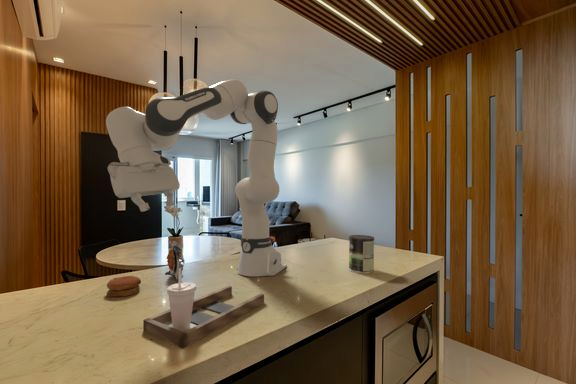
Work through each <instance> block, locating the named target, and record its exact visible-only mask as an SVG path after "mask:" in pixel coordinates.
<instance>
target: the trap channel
mask: <svg viewBox="0 0 576 384" xmlns="http://www.w3.org/2000/svg"><path fill="white" fill-rule="evenodd" d="M232 287H233V286H231V285H228V286H225V287H222V288H220V289H217V290H215V291H212V292H210V293H208V294H205V295H202V296H200V297H197V298H195V299H194V300H193V308H192V315H191V323H190V328H189V329H188V330H186V331H183V332H182V331H180V330H177V329H175V328H173V326H172V318H171V310H170V309H167V310H165V311H162V312H160V313H158V314H155V315H153V316H150V317H146V318H145V319H143V328H142V329H143V332H145V333H147V334H150V335H151V336H154V337H156V338H158V339H160V340H163V341H165V342H167V343H170V344H171V345H174V346H175V347H178V348H180V349H185V348H186V347H188V346H189V345H190V346H191V345H192V344H193V343H195V342H197V341H199V340H200V339H202V338H204V337H206V336H208V335H209V334H211V333H213V332H214V331H216V330H219V329H220V328H222V327H225V326H226V325H227V324H229V323H231V322H232V321H234V320H236V319H238V318H240V317H241V316H243V315H245V314H246V313H249V312H250V311H252V310H254V309H256V308H257V307H259V306H261V305H262V304H265V294H264V293H259V294H257V295H255V296H252V297H251V298H249V299H247V300H245V301H243V302H241V303H239V304H237V305H231V304H227V303H224V302H221V301H220V300H222V299H225V298H227V297H230V296H231V295H232V294H233V290H232V289H233V288H232ZM200 309H205V310H207V311H211V312H214V313H217V314H216V315H211V314H208V313H205V312H202V311H199V310H200Z"/></svg>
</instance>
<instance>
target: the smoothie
mask: <svg viewBox="0 0 576 384" xmlns="http://www.w3.org/2000/svg"><path fill="white" fill-rule="evenodd" d="M196 291H197V284H196V283H194V282H189V281H188V282H186V281H185V282H182V279H181V268H179V275H178V283H173V284H170V285H168V287H167V288H166V293H167V294H168V301H169V308H170V309H169V310H171V318H172V326H173V328H175V329H177V330H180V331H182V332H183V331H186V330H188V329H189V328H190V323H191V315H192V308H193V300H195V299H194V298H195V292H196ZM191 324H192V323H191Z"/></svg>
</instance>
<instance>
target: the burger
mask: <svg viewBox="0 0 576 384" xmlns="http://www.w3.org/2000/svg"><path fill="white" fill-rule="evenodd" d="M141 283H142V279H141V278H139V277H138V276H134V275H125V276H119V277H114V278H112V279H110V280H109V281H108V282H107V284H106V288H107V289H108V290H107V292H106V296H108V297H116V298H118V297H119V298H120V297H128V296H131V295H135V294H138V293H139V292H140V290H141V289H140V288H141V287H140V285H141Z"/></svg>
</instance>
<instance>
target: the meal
mask: <svg viewBox="0 0 576 384" xmlns="http://www.w3.org/2000/svg"><path fill="white" fill-rule="evenodd" d="M168 244H169V245H170V246H171V247H170V248H169V250H168V254H167V256H166V262H167V266H168V268H169V271H166V272H165V273H164V275H169V276H171V277H172V276H175V279H176V280H175V284H177V283H178V275H179V268H181V280H183V278H184V275H182V274H183V271H184V265H185V258H184V255H183V248H182V246H181V244H180V243H179V242H178V241H173V240H168Z"/></svg>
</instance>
